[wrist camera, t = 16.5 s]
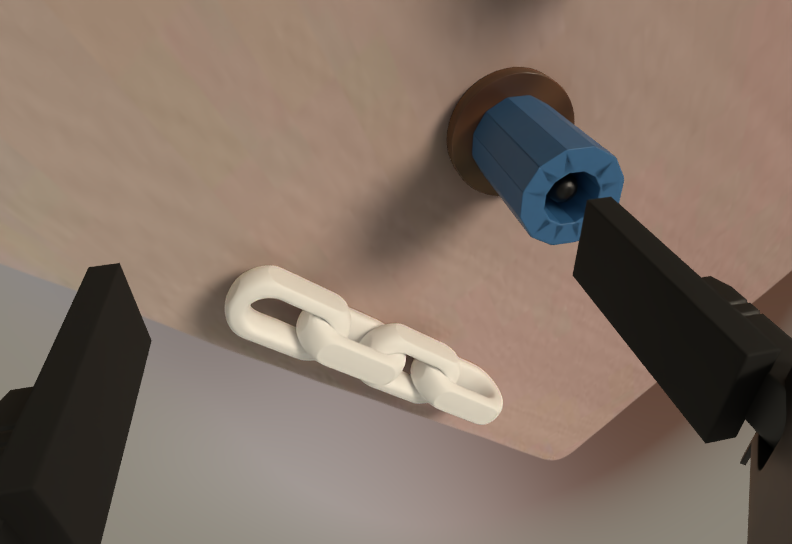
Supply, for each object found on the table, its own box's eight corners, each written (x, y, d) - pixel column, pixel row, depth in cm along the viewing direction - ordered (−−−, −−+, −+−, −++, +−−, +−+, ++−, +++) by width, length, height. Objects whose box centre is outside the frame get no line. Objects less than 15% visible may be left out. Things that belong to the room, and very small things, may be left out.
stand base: (423, 118, 41) (428, 125, 40) (538, 39, 40) (546, 43, 38) (480, 209, 47) (486, 217, 46) (582, 143, 45) (591, 150, 44)
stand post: (497, 135, 42) (549, 191, 34) (519, 120, 41) (577, 173, 34) (508, 155, 43) (560, 213, 35) (529, 140, 43) (587, 196, 35)
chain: (502, 361, 59) (524, 404, 54) (465, 397, 61) (483, 441, 56) (252, 241, 45) (250, 286, 40) (217, 294, 47) (211, 342, 42)
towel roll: (457, 130, 41) (503, 190, 33) (536, 77, 40) (604, 125, 32) (494, 194, 45) (544, 261, 37) (567, 147, 44) (635, 206, 36)
